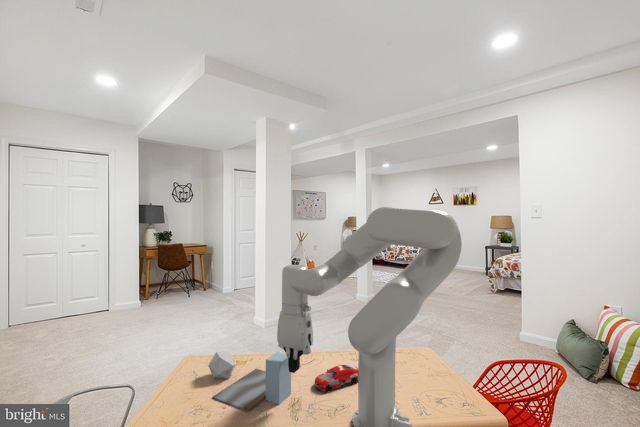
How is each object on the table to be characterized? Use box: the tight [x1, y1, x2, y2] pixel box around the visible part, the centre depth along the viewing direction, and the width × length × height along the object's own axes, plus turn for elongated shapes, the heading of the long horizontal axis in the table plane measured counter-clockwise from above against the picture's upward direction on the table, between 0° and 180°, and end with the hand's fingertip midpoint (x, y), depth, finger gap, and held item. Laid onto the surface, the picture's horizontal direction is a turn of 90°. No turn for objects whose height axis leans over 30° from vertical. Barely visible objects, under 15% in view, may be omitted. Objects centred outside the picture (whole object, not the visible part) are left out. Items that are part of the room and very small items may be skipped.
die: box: [207, 351, 237, 379], centre depth 109 cm, size 8×9×10 cm
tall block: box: [265, 351, 292, 406], centre depth 97 cm, size 5×6×12 cm
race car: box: [314, 364, 358, 393], centre depth 105 cm, size 16×7×5 cm, turn 118°
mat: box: [212, 368, 266, 413], centre depth 101 cm, size 14×20×1 cm
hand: (293, 370), depth 94 cm, fingers closed
